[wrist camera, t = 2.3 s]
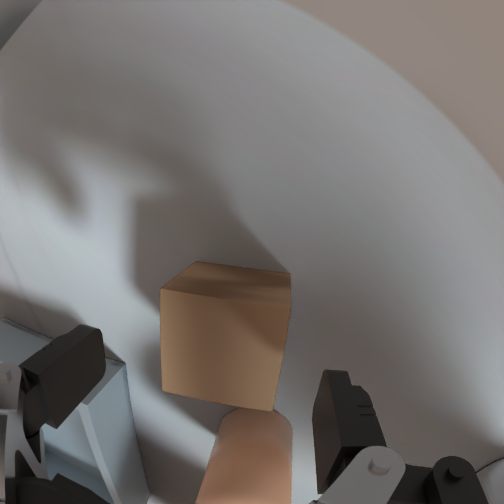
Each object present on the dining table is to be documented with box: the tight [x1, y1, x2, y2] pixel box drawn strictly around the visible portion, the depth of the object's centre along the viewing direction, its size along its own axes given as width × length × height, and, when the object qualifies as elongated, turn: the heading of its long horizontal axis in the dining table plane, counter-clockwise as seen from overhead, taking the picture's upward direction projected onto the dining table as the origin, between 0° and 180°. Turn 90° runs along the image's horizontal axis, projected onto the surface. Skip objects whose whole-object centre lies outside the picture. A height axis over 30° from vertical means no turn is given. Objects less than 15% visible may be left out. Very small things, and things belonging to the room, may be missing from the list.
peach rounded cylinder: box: [195, 407, 293, 504], centre depth 15 cm, size 5×5×7 cm
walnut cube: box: [160, 261, 291, 411], centre depth 14 cm, size 5×5×5 cm
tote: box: [0, 317, 150, 504], centre depth 18 cm, size 14×18×5 cm
